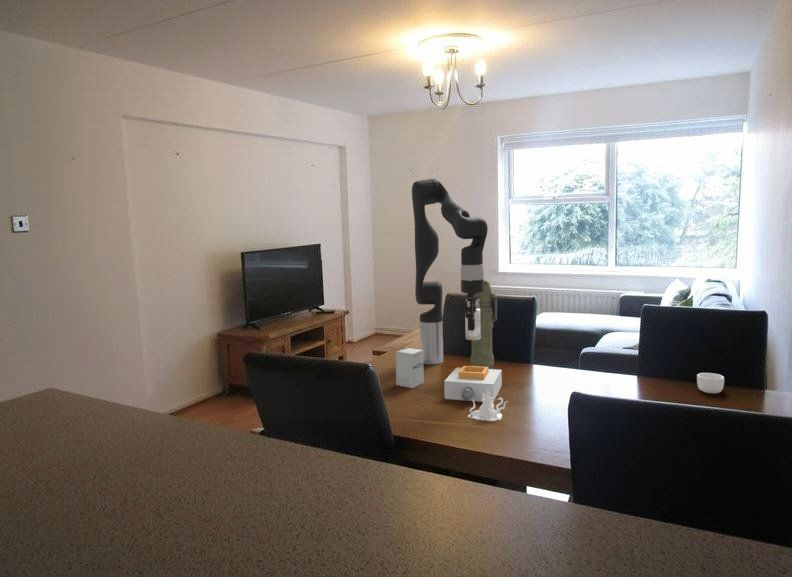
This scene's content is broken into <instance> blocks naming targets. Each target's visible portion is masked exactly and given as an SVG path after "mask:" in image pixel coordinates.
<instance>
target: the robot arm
mask: <svg viewBox="0 0 792 577" xmlns="http://www.w3.org/2000/svg"><path fill="white" fill-rule="evenodd" d="M411 200H412V210H413V218H414V219H413V220H414V254H415V258H414V259H415V289H414V290H415V294H414V295H415V301H416V303H417V304H418V305H428V306H429V305H434V306H433V307H432V308H430V309H429V310H427V311H424V312H421V313H420V315H419V334H420V335H419V336H420V338H419V340H420V341H419V343H420V348H419V349H420V350H423V365H424V364H425V365H438V364H442V363H444V337H443V335H444V333H443V332H444V330H443V327H444V326H443V284H442V283H441V281H425V277H426V275H427V273H428V272H429V269H430V268H431V266H432V265H433V263H434V262H435V260H436V259H437V258H438V255H439V251H440V250H439V246H440V245H439V241H440V240H439V235H438V233H437V231H436V230H435V227H433V226H432V224H431V223H430V221H429V220H428V217H427V214H426V206H429V205H433V204H441V205H440V206H441V207H440V212H441V215H442V217H443V219H445V221H447V223H449V224H450V225H451V227H452V228H453V232H454V233H455V235H456V237H457V238H459V239H462V240H472V241H471V243H470V244H469V245H467V246H464V247H462V248H461V251H460V258H461V259H460V261H461V264H460V265H461V267H460V292H461V293H462V294H467V295H466V296H467V298H466V297H465V298H466V299H465V300H464V311H465V312H464V313H465V314H466V316H465V314H464V318H465V317H466V318H467V319H468V330H471V331H473V330H475V313H476V312H477V308H479V309H480V296H478V293H482V292H483V291H484V281H485V279H484V278H485V277H484V275H485V274H484V265H483V263H484V261H483V260H484V259H483V258H484V257H483V252H484V247H485V243H486V241H487V240H486V239H487V235H488V229H489V228H488V227H489V226H488V223H487V221H486V220H485V218H483V217H481V216H480V217H479V216H475V217H474V216H473V217H471V216H470V213H469V211H468V210H467V209H466V208H464V207H463V206H462V205H461V204H460V203H458V202H457V200H455V198H454V197H453V196H452V194H451V193H450V192H449V191H448V189H447V188H446V187H445V184H443V182H441V181H440V180H439V179H437V178H427V179H422V180H417V181H414V182H413V184H412V186H411ZM469 312H471V314H469Z"/></svg>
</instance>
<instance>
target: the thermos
mask: <svg viewBox="0 0 792 577" xmlns="http://www.w3.org/2000/svg"><path fill="white" fill-rule="evenodd" d="M478 296H480V325H481V339H479V340H471V355H470V358H469V360H470V361H469V362H470V363H469V364H470V365H469V366H480V367H489V369H494V366H495V357H494V354H493V328H494V323H495V322H497V320H498V296H497V295H496V294H495V293H492V287H491V285H490V282H489V281H487V280H484V291H483V292H482V293H478ZM492 297H493V298H494V312H493V308H492ZM466 298H467V295H466V296H465V298H464V299H465V300H466Z"/></svg>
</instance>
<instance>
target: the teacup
mask: <svg viewBox="0 0 792 577" xmlns="http://www.w3.org/2000/svg"><path fill="white" fill-rule="evenodd" d="M696 382H697V383H696V384H697V388H698V389H699V391H701V392H702V391H703V392H702V393H705V394H706V393H707V394H719V393H721V392H722V391H723V389H724V385H725V376H723V375H721V374H718V373H712V372H700V373H698V374H696Z"/></svg>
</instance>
